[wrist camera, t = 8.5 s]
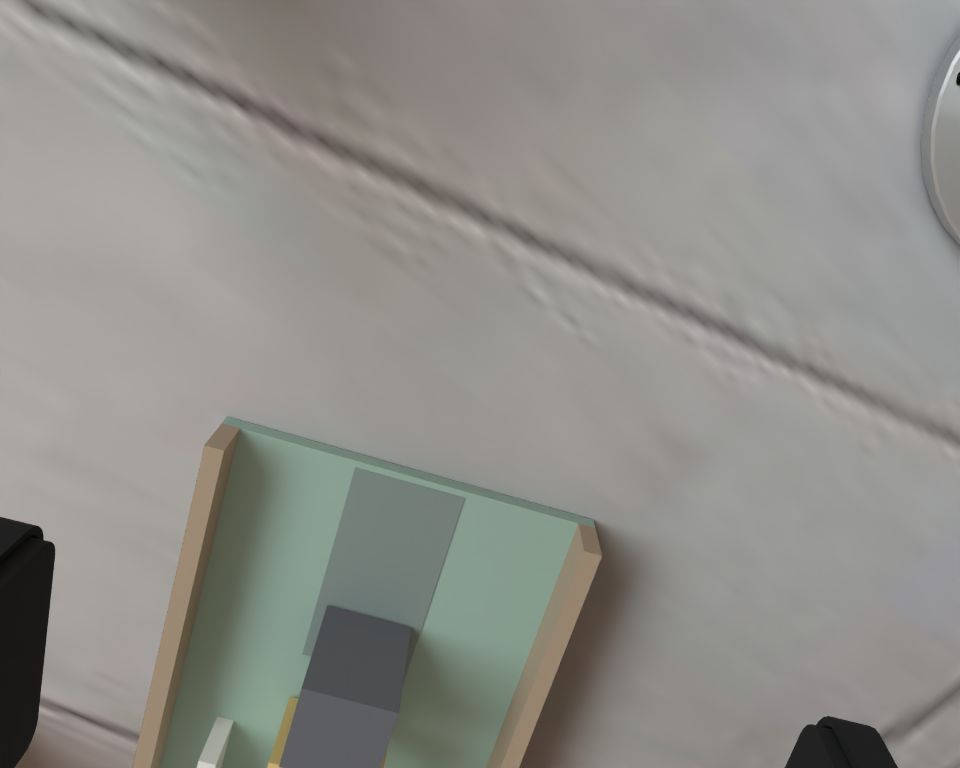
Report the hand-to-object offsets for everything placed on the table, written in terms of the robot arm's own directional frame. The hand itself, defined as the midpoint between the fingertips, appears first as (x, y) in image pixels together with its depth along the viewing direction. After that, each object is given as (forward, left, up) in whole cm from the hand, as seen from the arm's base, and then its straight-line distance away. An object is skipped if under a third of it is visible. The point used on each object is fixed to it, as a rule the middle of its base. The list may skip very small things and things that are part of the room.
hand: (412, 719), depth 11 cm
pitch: (0, +19, -28) cm, 34 cm away
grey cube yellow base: (0, +20, -27) cm, 33 cm away
